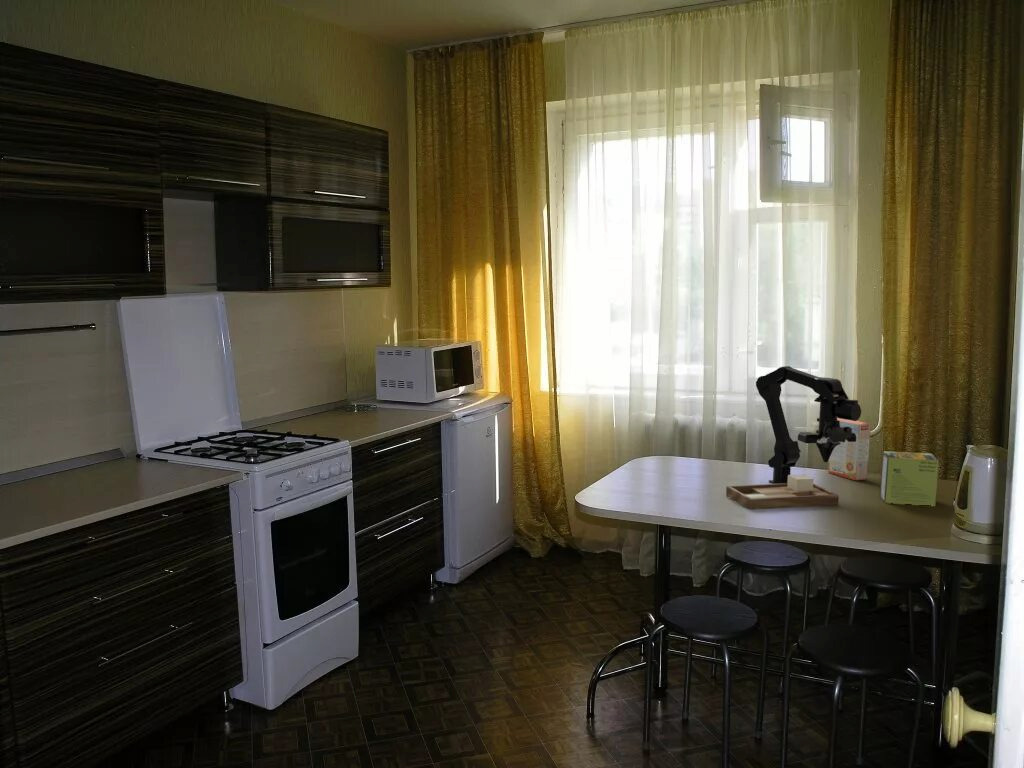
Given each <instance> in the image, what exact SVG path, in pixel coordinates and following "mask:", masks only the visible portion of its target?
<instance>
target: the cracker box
mask: <svg viewBox="0 0 1024 768" xmlns="http://www.w3.org/2000/svg"><path fill="white" fill-rule="evenodd" d="M837 420H839V422H840V427H850V428H851V429H852V432H853V433H855V434H856V436H857V438H856V442H848V441H847V440H846V441H845V442H839V443H841V444H840V445H837V446H836V447H835V448H834V450H833V451H832V453H831V456H830V458H829V460H828V471H827V472H828V473H829V474H832V475H836V476H837V477H838V476H839V477H841V478H846V479H849V480H852V481H864V480H865V481H866V480H868V472H869V471H868V466H869V453H870V442H871V440H870V439H871V428H872V427H871V424H872V423H869V422H864V421H859V420H857V421H852V420H846V419H840V418H838V417H837Z"/></svg>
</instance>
